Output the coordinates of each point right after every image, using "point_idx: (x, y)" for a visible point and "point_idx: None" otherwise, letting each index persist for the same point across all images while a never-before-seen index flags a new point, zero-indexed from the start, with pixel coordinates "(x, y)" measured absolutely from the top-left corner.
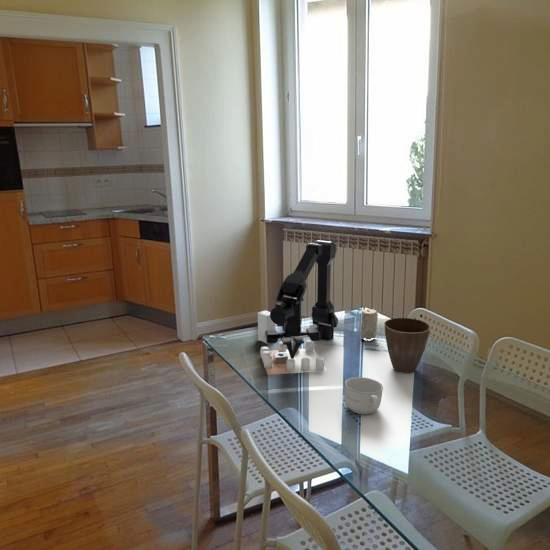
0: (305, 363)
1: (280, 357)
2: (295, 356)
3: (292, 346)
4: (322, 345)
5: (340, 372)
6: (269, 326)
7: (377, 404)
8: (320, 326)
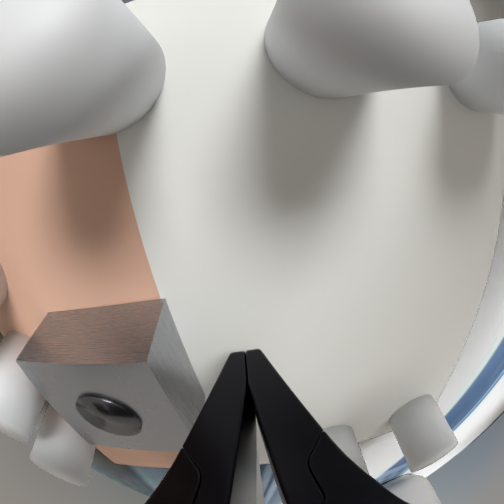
0: None
1: (130, 448)
2: (302, 241)
3: (275, 471)
4: None
5: (473, 375)
6: None
7: None
8: None
